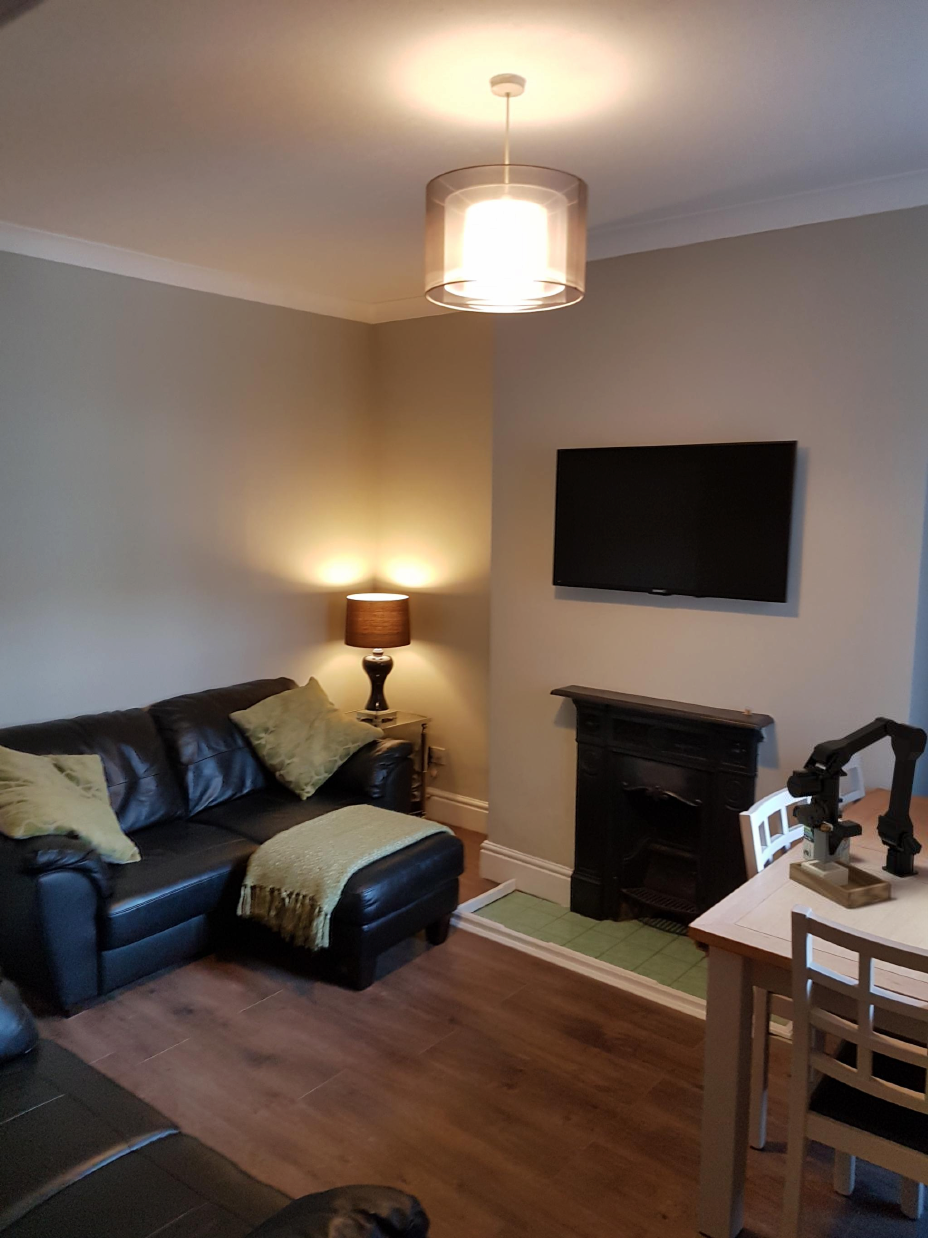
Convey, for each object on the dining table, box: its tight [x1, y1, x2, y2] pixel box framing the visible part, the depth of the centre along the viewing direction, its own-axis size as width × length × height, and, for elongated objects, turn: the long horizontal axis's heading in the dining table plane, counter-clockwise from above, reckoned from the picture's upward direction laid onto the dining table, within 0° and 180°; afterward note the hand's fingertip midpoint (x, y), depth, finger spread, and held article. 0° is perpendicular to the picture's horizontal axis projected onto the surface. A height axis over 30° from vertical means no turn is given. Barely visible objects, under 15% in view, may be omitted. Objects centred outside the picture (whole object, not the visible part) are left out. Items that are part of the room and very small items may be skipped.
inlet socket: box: [801, 860, 848, 886], centre depth 236 cm, size 8×8×4 cm
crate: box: [788, 859, 892, 909], centre depth 233 cm, size 14×20×4 cm
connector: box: [813, 825, 837, 864], centre depth 235 cm, size 4×4×9 cm
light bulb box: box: [802, 818, 851, 864], centre depth 251 cm, size 11×7×11 cm, turn 105°
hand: (825, 852), depth 235 cm, fingers closed on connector, 4 cm apart
